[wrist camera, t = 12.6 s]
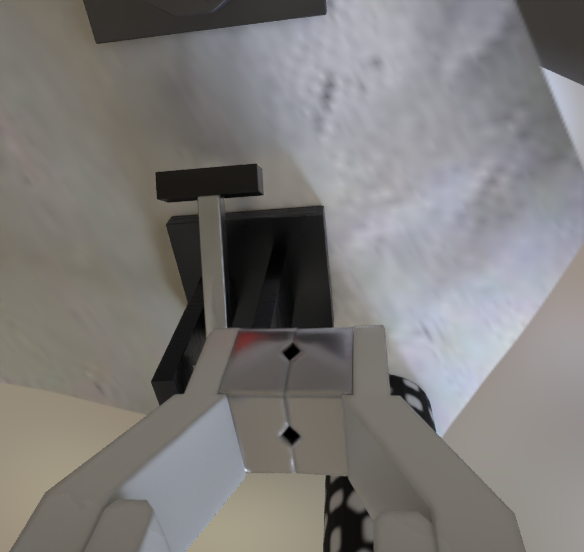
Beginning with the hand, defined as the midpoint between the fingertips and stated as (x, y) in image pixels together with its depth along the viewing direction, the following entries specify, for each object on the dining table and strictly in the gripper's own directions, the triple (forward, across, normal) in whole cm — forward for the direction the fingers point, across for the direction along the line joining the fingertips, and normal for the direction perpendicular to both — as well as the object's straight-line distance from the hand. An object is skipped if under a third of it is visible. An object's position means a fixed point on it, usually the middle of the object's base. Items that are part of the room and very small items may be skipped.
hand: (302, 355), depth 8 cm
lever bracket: (+21, +6, +11) cm, 24 cm away
